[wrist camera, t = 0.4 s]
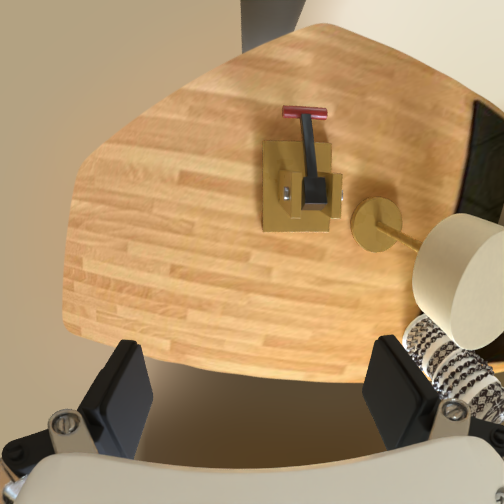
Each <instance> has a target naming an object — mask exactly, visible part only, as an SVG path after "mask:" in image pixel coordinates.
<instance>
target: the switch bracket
mask: <svg viewBox="0 0 504 504" xmlns="http://www.w3.org/2000/svg"><path fill="white" fill-rule="evenodd" d="M314 145H315V154H316V163H317V174H318V177H325V182H326V193H327V205H326V206H325V207H324V208H323V209H322V210H321V211H320V210H301V196H302V179H303V177H305V165H304V154H303V143H302V141H263V142H262V160H263V232H329V226H330V218H331V219H341V204H342V199H343V190H342V174H339V173H331V163H332V144H331V143H322V142H314Z"/></svg>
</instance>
